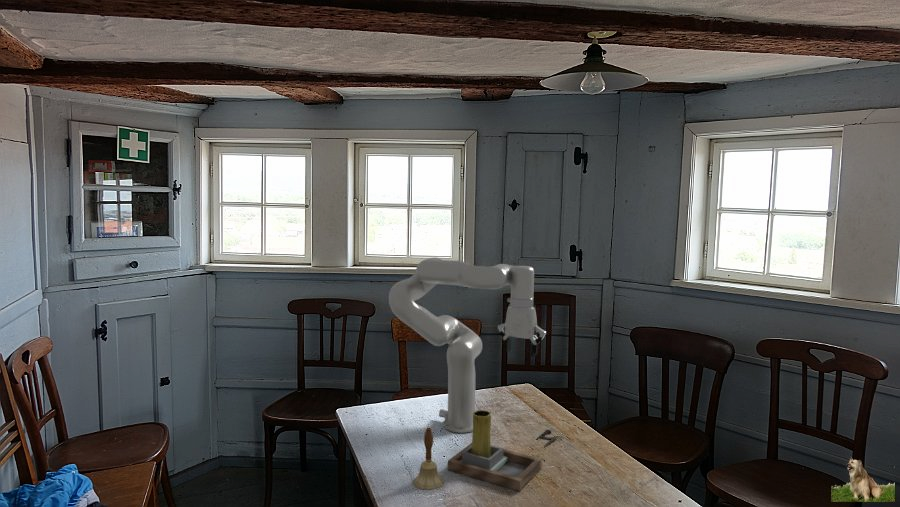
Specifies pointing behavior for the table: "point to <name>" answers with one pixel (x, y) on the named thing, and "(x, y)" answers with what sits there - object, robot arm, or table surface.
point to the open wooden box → (500, 470)
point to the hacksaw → (547, 437)
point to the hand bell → (428, 467)
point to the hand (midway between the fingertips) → (520, 353)
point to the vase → (481, 433)
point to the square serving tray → (489, 463)
